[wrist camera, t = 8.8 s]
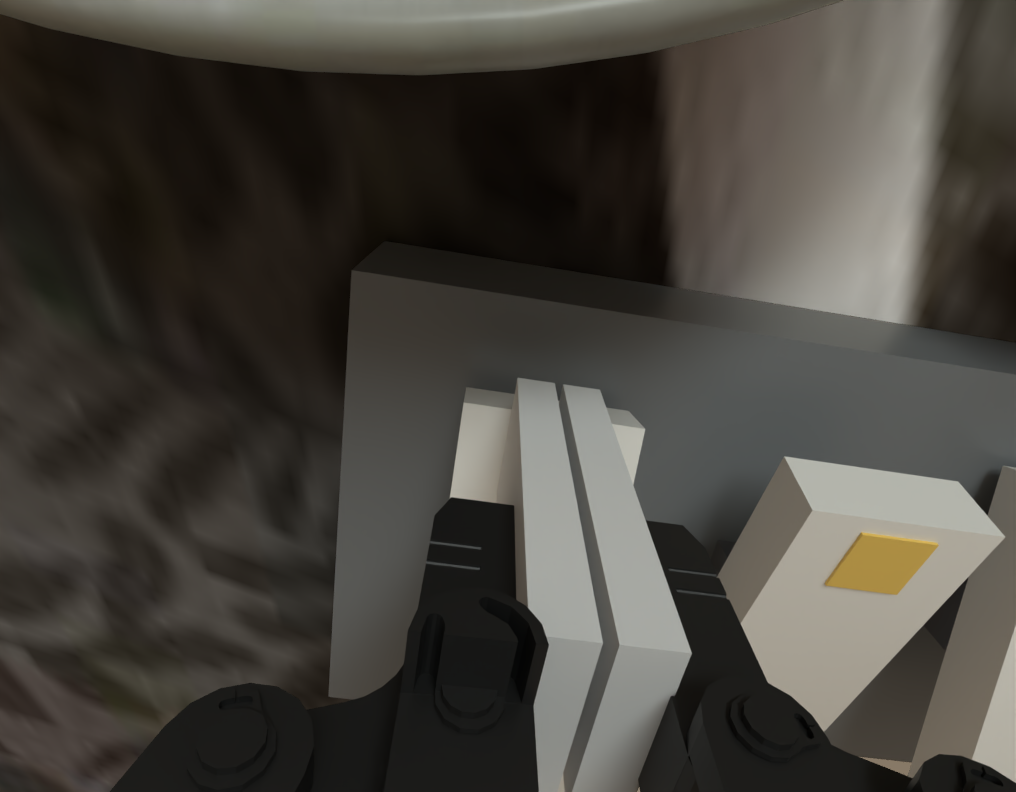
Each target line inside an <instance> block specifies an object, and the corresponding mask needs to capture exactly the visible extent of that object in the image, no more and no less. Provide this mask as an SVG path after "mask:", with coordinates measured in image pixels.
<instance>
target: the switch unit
mask: <svg viewBox="0 0 1016 792" xmlns="http://www.w3.org/2000/svg"><path fill="white" fill-rule="evenodd" d="M517 378H524V379H530V380H537V381H544V382H551V383H555V387H556V392H557V398H558V401H560V396H561V392H562V387H563V384H565V385H572V386H579V387H585V388H592V389H599V390H600V391H601V394H602V397H603V400H604V403H605V405H606V408H612V409H619V410H626V411H629V412H630V413H631V414H632V415H633V416H634V417H635V418H636V419H637V420H638V422H639V423H640V424H641V425H642V426H643V427H644V428H645V433H644V437H643V442H642V447H641V451H640V456H639V461H638V465H637V470H636V475H635V479H634V484H633V486H634V489H635V492H636V494H637V497H638V500H639V503H640V506H641V509H642V512H643V515H644V517H645V520H647V521H655V522H662V523H670V524H678V525H683V526H684V527H685V528H686V529H687V530H688V531H689V532H690V533H691V534H692V535H693V536H694V537H695V538H696V539H697V540H698V541H699V542H700V543H701V544H702V545H703V546H704V547H705V548H706V551H707V553H708V555H709V557H710V559H711V561H712V563H713V566H714V568H715V570H716V572H717V576H718V574H719V572H720V571H721V569H722V567H723V565H724V563H725V562H726V560H727V558H728V556H729V554H730V553H731V551H732V549H733V547H734V545H735V544H736V542H737V540H738V538H739V536H740V535H741V533H742V531H743V529H744V527H745V526H746V524H747V522H748V520H749V518H750V517H751V515H752V513H753V511H754V509H755V508H756V506H757V504H758V502H759V500H760V499H761V497H762V495H763V493H764V491H765V490H766V488H767V486H768V484H769V482H770V481H771V479H772V477H773V475H774V473H775V472H776V470H777V468H778V466H779V464H780V463H781V461H782V459H783V457H784V456H785V457H792V458H799V459H806V460H813V461H820V462H827V463H834V464H841V465H848V466H855V467H861V468H868V469H875V470H882V471H889V472H896V473H903V474H910V475H917V476H924V477H931V478H938V479H944V480H951V481H958V482H959V483H960V484H961V485H962V487H963V488H964V489H965V490H966V491H967V492H968V494H969V495H970V496H971V497H972V498H973V499H974V501H975V502H976V503H977V504H978V505H979V507H980V508H981V509H982V510H983V511H984V512H985V514H986V515H987V516H988V512H989V509H990V506H991V503H992V499H993V496H994V493H995V489H996V486H997V483H998V480H999V476H1000V473H1001V470H1002V467H1003V466H1009V467H1016V343H1015V342H1009V341H1002V340H996V339H990V338H984V337H978V336H971V335H965V334H959V333H953V332H947V331H940V330H934V329H928V328H922V327H916V326H909V325H903V324H897V323H891V322H885V321H878V320H872V319H866V318H860V317H853V316H847V315H841V314H835V313H829V312H822V311H816V310H810V309H804V308H798V307H791V306H785V305H779V304H773V303H767V302H760V301H754V300H748V299H742V298H736V297H729V296H723V295H717V294H711V293H705V292H698V291H692V290H686V289H680V288H673V287H667V286H661V285H655V284H649V283H642V282H636V281H630V280H624V279H618V278H611V277H605V276H599V275H593V274H587V273H580V272H574V271H568V270H562V269H556V268H549V267H543V266H537V265H531V264H525V263H518V262H512V261H506V260H500V259H493V258H487V257H481V256H475V255H469V254H462V253H456V252H450V251H444V250H438V249H431V248H425V247H419V246H413V245H407V244H400V243H394V242H388V241H384V242H383V243H382V244H381V245H379V246H378V247H377V248H376V249H375V250H374V251H373V252H371V253H370V254H369V255H368V256H367V257H366V258H365V259H364V260H362V261H361V262H360V263H359V264H358V265H357V266H356V267H354V268H353V269H352V271H351V290H350V308H349V327H348V345H347V364H346V382H345V400H344V419H343V437H342V456H341V474H340V493H339V511H338V530H337V548H336V566H335V585H334V603H333V622H332V640H331V659H330V677H329V696H328V697H335V698H344V699H353V700H354V699H357V698H361V697H364V696H366V695H368V694H370V693H372V692H374V691H375V690H377V689H379V688H381V687H383V686H384V685H385V684H386V683H387V682H388V681H389V680H391V679H392V678H393V677H394V676H395V675H396V674H397V673H398V671H399V670H400V668H401V667H402V666H403V664H404V658H405V650H406V642H407V633H408V629H409V627H410V624H411V622H412V620H413V618H414V615H415V613H416V611H417V610H418V605H419V599H420V593H421V588H422V582H423V577H424V571H425V566H426V560H427V554H428V549H429V544H430V538H431V532H432V527H433V521H434V516H435V514H436V513H437V512H438V511H439V510H440V509H441V508H442V507H443V506H444V505H445V504H446V502H447V501H448V500H449V499H450V493H451V486H452V479H453V472H454V465H455V458H456V452H457V445H458V438H459V431H460V424H461V417H462V410H463V403H464V398H465V392H466V387H470V388H476V389H483V390H490V391H497V392H504V393H510V394H515V389H516V384H517ZM967 581H968V578H967V579H966V580H965V581H964V582H963V583H962V584H961V585H960V586H959V587H958V589H957V590H956V591H955V592H954V593H953V594H952V595H951V596H950V597H949V598H948V599H947V600H946V601H945V602H944V604H943V605H942V606H941V607H940V608H939V609H938V610H937V611H936V612H935V613H934V614H933V615H932V616H931V618H930V619H929V620H928V621H927V622H926V623H925V624H924V625H923V626H922V627H921V628H920V629H919V630H918V631H917V633H916V634H915V635H914V636H913V637H912V638H911V639H910V640H909V641H908V642H907V643H906V644H905V645H904V646H903V648H902V649H901V650H900V651H899V652H898V653H897V654H896V655H895V656H894V657H893V658H892V659H891V660H890V662H889V663H888V664H887V665H886V666H885V667H884V668H883V669H882V670H881V671H880V672H879V673H878V674H877V675H876V677H875V678H874V679H873V680H872V681H871V682H870V683H869V684H868V685H867V686H866V687H865V688H864V689H863V690H862V692H861V693H860V694H859V695H858V696H857V697H856V698H855V699H854V700H853V701H852V702H851V703H850V704H849V706H848V707H847V708H846V709H845V710H844V711H843V712H842V713H841V714H840V715H839V716H838V717H837V718H836V719H835V721H834V722H833V723H832V724H831V725H830V726H829V727H828V728H827V729H826V730H825V731H824V733H825V734H826V736H827V737H828V739H829V741H830V743H831V745H833V746H835V747H837V748H839V749H841V750H843V751H845V752H847V753H850V754H852V755H855V756H859V757H868V758H877V759H886V760H895V761H904V762H912V760H913V757H914V754H915V750H916V747H917V744H918V740H919V737H920V734H921V731H922V727H923V724H924V721H925V718H926V714H927V711H928V708H929V705H930V701H931V698H932V695H933V692H934V688H935V685H936V682H937V679H938V675H939V672H940V669H941V665H942V662H943V659H944V656H945V652H946V649H947V646H948V643H949V639H950V636H951V633H952V630H953V626H954V623H955V620H956V617H957V613H958V610H959V607H960V604H961V600H962V597H963V594H964V591H965V587H966V584H967Z"/></svg>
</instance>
